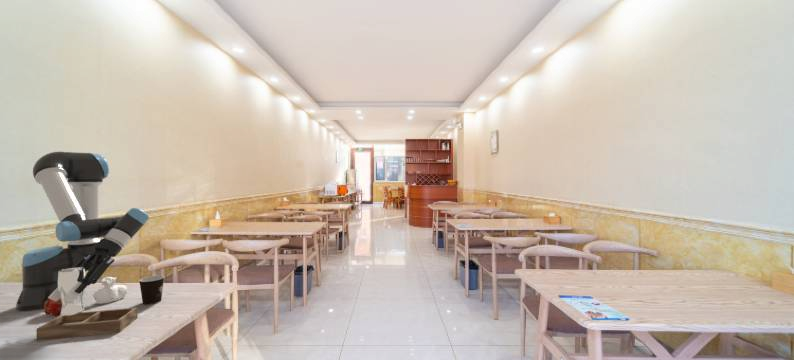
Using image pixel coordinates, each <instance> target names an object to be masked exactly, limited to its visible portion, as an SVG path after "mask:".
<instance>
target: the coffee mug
mask: <svg viewBox="0 0 794 360" xmlns="http://www.w3.org/2000/svg"><path fill="white" fill-rule="evenodd" d="M138 281H139V288H140V293H141V302H142V304H143V305H145V306H147V305H154V303H155V304H157V303H161V301H162V297H163V289H164V281H165V276H164V275H151V276H146V277H142V278H141V279H139V280H138Z"/></svg>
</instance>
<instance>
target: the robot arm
mask: <svg viewBox="0 0 794 360" xmlns="http://www.w3.org/2000/svg"><path fill="white" fill-rule="evenodd" d="M109 173H110V168H109V163H108V161H107V159H106V158H105V156H103V155H102V154H99V153H91V152H72V151H71V152H70V151H53V152H49V153H47V154H44V155H43V156H41V157H39V159H38V160H37V161H36V162H35V163H34V165H33V168H32V176H33V178H34V180H35V182H36V183H37V184H40V185H41V186H42V189H43V191H44V192H45V194H46V197H47V199H48V201H49V203H50V204H51V207H52V209H53V211H54V213H55V215H56V218H57V219H58V220H59V222H58V223H57V224H56V226H55V236H56V238H57V240H58V241H59V242H63V243H64V242H67V247H63V246H62V245H53V246H45V247H40V248H37V249H34V250H30V251H28V252H26V253H24V254H23V256H22V260H21V261H22V262H21V263H22V264H21V267H22V273H21V275H22V290H21V291H20V294H19V296H18V299H17V302H16V304H15V309H16V311H23V312H24V311H36V310H41V309H42V310H43V309H45V308H44V303H45V302H46V300H48V299H51V300H53V301H56V302H57V300H58V299H59V298H60V295H59V291H58V272H59V271H60V270H64V269H69V268H76V267H84V268H85V277H84V279H82V280H80V281H81V282H82V283H81V282H79V283H78V284H77V285H76V286H75V287H74V288H73V289H72V290H71V291H70V292H69V293H68V294H67V295H66V296H65V298H64V299H63V300H64V301H66V302H68V303H70V304H71V303H72V302H73V301H74V300H75V299H76V298H77V297H78V295H79V294H80V293H81V292H82V291H83V290H84V289H85V290H86V288H87V287H89V286H90V285H95V284H96V283H98V281H99V280H100V278H101V277H102V276H103V274H104V273H105V272H106V271H107V269H108V268H109V267H110V266H111V265H112V264H113V263H114V262H115V259H114V257H117V255H119V253H120V252H121V251H122V250H123V249H122V248H124V247H125V246H126V245H127V244H128V243H129V242H130V240H132V239H133V237H134V236H135V235H136V234H137V233H139V230H141V229H142V228H143V226H144V225H146V223H147V222H148V220H149V219H150V216H149V214H148V213H147V212H145V211H144V210H143V209H140V208H137V207H132V208H130V209H129V210H128V211H127V212H126V213H125V214H124V215H120V216H114V217H105V218H103V217H102V218H99V186H100V185H101V184H102V183H103V181H104V179H106V178H108V176H109ZM85 290H84V291H85Z"/></svg>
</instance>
